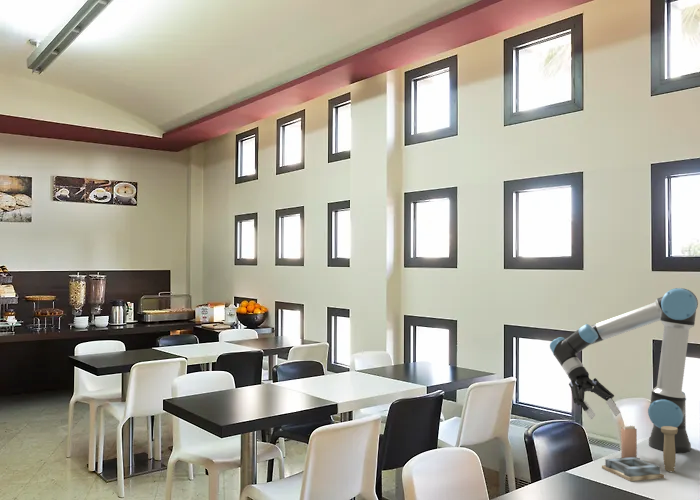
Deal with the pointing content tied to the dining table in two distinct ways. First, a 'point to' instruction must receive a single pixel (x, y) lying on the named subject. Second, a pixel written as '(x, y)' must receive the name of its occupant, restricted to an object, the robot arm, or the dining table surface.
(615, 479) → the dining table surface
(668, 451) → the handle
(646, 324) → the robot arm
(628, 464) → the square frame tray
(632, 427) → the copper orange rectangular block
